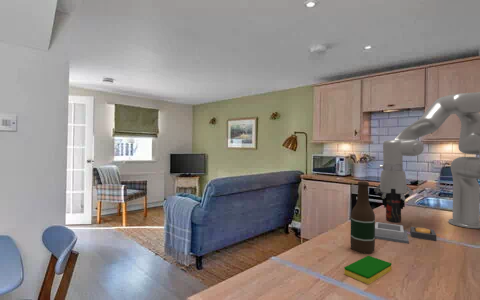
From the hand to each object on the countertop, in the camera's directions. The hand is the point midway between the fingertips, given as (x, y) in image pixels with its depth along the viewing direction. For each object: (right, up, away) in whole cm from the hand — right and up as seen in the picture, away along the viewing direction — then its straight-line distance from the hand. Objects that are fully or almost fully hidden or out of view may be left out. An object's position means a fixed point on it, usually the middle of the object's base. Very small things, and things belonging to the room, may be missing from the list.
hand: (393, 207), depth 119 cm
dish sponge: (-32, -10, -42) cm, 54 cm away
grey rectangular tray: (-8, -9, -11) cm, 16 cm away
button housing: (+5, -9, -11) cm, 16 cm away
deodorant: (0, -6, 0) cm, 6 cm away
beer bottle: (-26, -9, -26) cm, 38 cm away
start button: (+5, -8, -11) cm, 15 cm away
